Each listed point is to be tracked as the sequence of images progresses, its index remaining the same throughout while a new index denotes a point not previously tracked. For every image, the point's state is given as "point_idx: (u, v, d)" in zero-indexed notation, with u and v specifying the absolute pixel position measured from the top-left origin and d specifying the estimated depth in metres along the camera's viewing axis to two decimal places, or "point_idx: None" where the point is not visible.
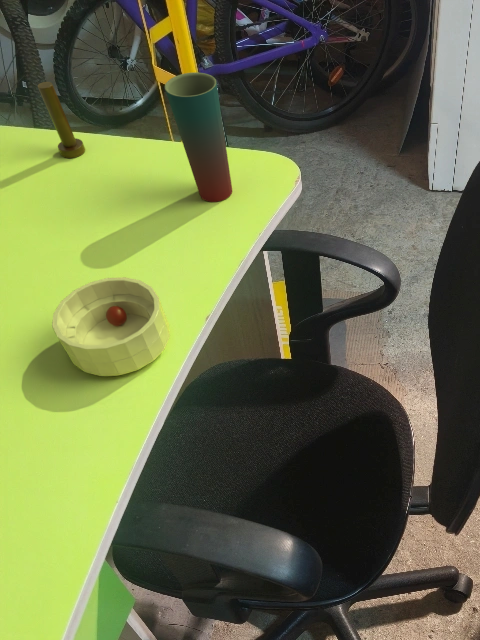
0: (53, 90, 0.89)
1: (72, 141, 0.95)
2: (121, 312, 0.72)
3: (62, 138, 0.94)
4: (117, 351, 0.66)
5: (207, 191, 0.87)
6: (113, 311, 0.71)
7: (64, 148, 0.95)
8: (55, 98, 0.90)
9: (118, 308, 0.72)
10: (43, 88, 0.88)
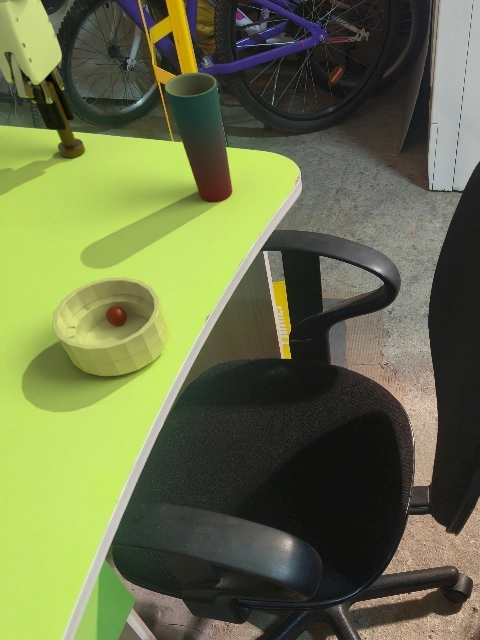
0: (53, 90, 0.89)
1: (72, 141, 0.95)
2: (121, 312, 0.72)
3: (62, 138, 0.94)
4: (117, 351, 0.66)
5: (207, 191, 0.87)
6: (113, 311, 0.71)
7: (64, 148, 0.95)
8: (55, 98, 0.90)
9: (118, 308, 0.72)
10: None
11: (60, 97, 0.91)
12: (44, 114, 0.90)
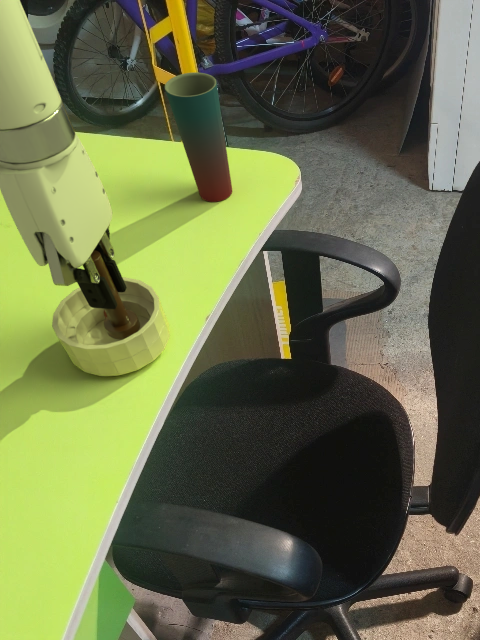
0: (101, 262, 0.63)
1: (124, 318, 0.69)
2: None
3: (110, 316, 0.68)
4: (117, 351, 0.66)
5: (207, 191, 0.87)
6: None
7: (113, 328, 0.69)
8: (103, 272, 0.64)
9: None
10: None
11: (109, 268, 0.65)
12: (87, 294, 0.64)
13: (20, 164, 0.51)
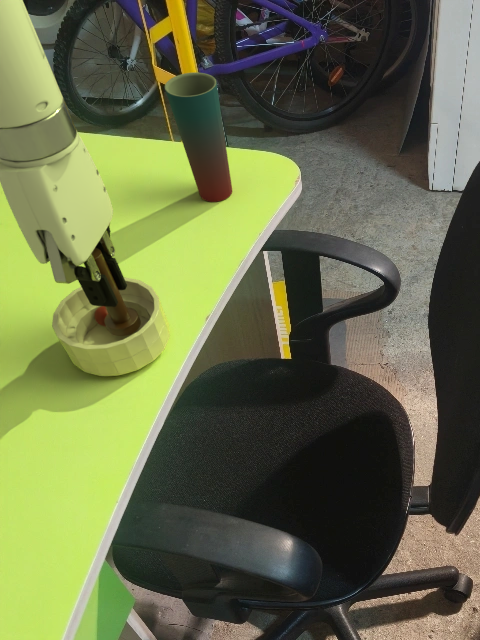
0: (102, 260, 0.63)
1: (124, 316, 0.69)
2: (103, 312, 0.71)
3: (111, 314, 0.68)
4: (117, 351, 0.66)
5: (207, 191, 0.87)
6: (97, 309, 0.71)
7: (114, 325, 0.69)
8: (104, 270, 0.64)
9: (104, 308, 0.71)
10: None
11: (110, 265, 0.65)
12: (88, 292, 0.64)
13: (22, 162, 0.51)
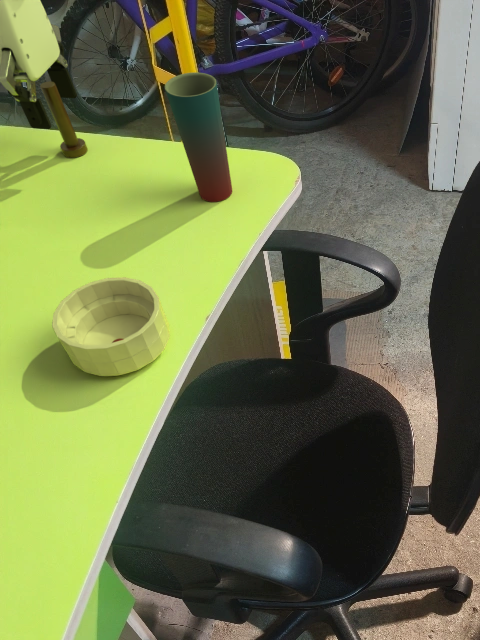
0: (56, 90, 0.89)
1: (74, 141, 0.95)
2: None
3: (64, 138, 0.94)
4: (117, 351, 0.66)
5: (207, 191, 0.87)
6: None
7: (67, 148, 0.95)
8: (57, 98, 0.90)
9: None
10: (46, 88, 0.88)
11: (63, 74, 0.91)
12: (28, 113, 0.86)
13: None
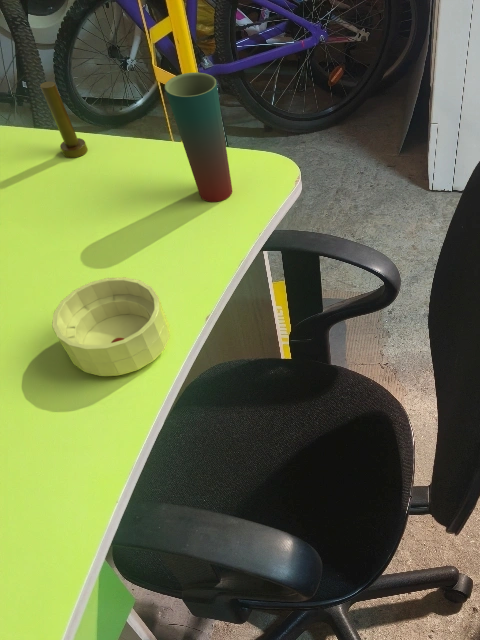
0: (56, 90, 0.89)
1: (74, 141, 0.95)
2: None
3: (64, 138, 0.94)
4: (117, 351, 0.66)
5: (207, 191, 0.87)
6: None
7: (67, 148, 0.95)
8: (57, 98, 0.90)
9: None
10: (46, 88, 0.88)
11: None
12: None
13: None
